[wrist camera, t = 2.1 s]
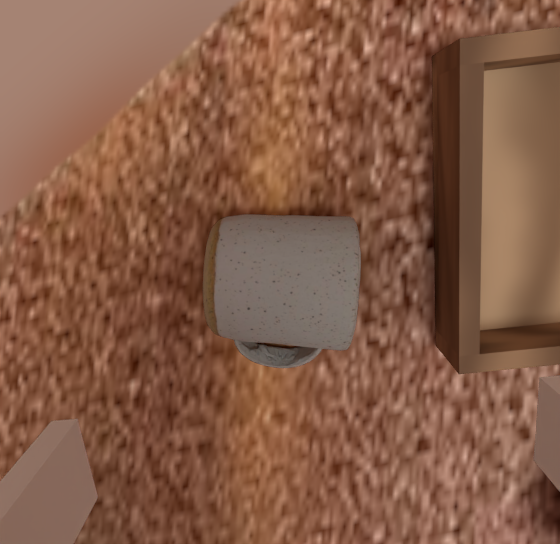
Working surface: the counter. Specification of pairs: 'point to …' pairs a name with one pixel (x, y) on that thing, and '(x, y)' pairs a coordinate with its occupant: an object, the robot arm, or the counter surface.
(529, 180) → the tray
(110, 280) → the counter surface
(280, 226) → the ceramic mug
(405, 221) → the counter surface
